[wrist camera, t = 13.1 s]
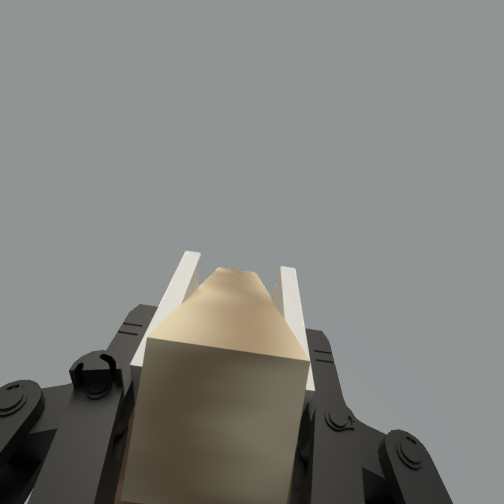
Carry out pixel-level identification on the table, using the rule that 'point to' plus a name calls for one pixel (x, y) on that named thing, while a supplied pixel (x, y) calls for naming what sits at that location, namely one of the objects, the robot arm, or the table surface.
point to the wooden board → (218, 400)
